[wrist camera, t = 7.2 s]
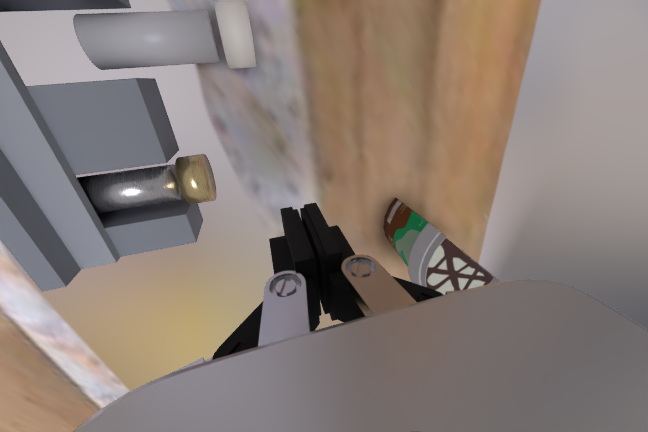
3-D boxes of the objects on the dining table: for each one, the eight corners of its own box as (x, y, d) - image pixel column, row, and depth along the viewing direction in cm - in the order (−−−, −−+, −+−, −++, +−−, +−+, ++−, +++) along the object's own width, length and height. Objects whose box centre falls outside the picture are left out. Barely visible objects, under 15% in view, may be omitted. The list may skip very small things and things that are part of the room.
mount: (-82, -48, 15) (-298, -133, 9) (112, -46, 17) (39, -116, 11) (91, 239, 25) (41, 291, 19) (203, 220, 27) (190, 261, 21)
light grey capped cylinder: (91, 11, 18) (54, -5, 14) (245, 7, 20) (244, -8, 16) (118, 78, 20) (91, 77, 16) (255, 68, 22) (257, 65, 18)
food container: (355, 230, 32) (394, 284, 24) (388, 191, 31) (442, 233, 22) (413, 267, 38) (462, 322, 29) (443, 236, 37) (503, 284, 28)
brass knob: (75, 166, 21) (43, 182, 18) (205, 149, 23) (199, 161, 20) (99, 209, 23) (73, 231, 20) (217, 190, 25) (213, 207, 22)
